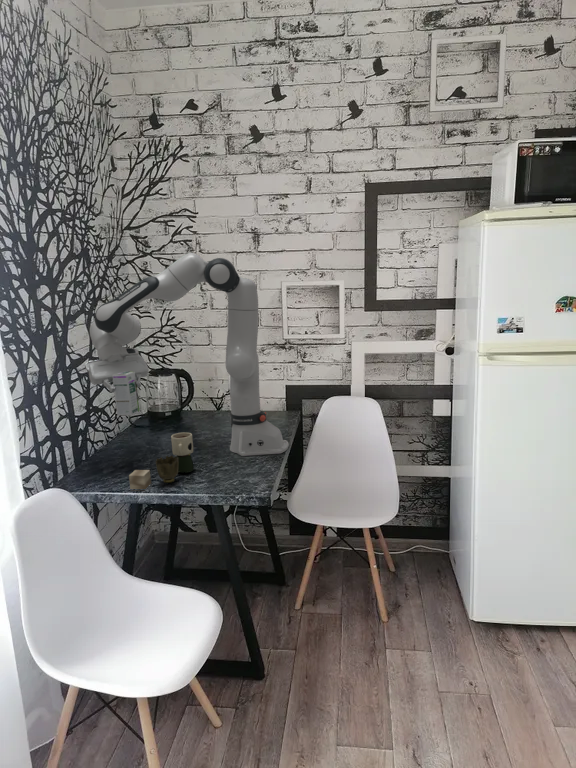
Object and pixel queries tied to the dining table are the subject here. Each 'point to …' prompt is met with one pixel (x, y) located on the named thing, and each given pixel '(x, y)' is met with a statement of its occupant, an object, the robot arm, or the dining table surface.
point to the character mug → (183, 450)
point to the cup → (167, 468)
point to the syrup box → (125, 393)
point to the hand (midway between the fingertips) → (126, 388)
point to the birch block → (140, 479)
